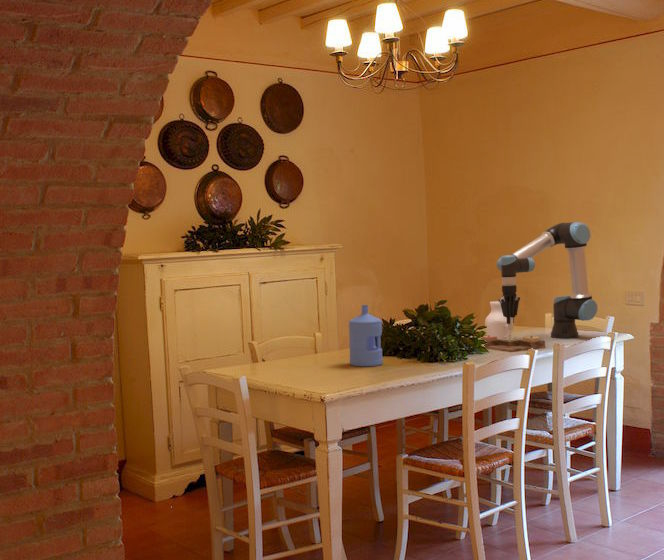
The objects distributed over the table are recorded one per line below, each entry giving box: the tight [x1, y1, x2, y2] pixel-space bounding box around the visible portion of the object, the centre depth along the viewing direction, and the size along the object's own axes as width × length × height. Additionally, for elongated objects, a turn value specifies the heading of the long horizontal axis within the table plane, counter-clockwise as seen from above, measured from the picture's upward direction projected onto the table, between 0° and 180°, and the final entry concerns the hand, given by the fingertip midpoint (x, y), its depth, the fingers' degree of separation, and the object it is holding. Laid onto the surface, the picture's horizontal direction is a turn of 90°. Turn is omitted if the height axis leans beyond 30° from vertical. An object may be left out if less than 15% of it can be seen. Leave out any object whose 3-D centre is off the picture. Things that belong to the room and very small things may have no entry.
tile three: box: [522, 335, 541, 342], centre depth 441 cm, size 6×6×3 cm
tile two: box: [480, 335, 497, 341], centre depth 449 cm, size 6×6×3 cm
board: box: [484, 339, 546, 353], centre depth 445 cm, size 24×27×4 cm
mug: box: [491, 321, 512, 340], centre depth 472 cm, size 12×8×10 cm
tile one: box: [502, 337, 519, 342], centre depth 445 cm, size 6×6×3 cm
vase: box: [484, 300, 509, 336], centre depth 490 cm, size 14×14×20 cm
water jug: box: [348, 304, 384, 368], centre depth 400 cm, size 16×16×28 cm
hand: (510, 329), depth 445 cm, fingers closed
